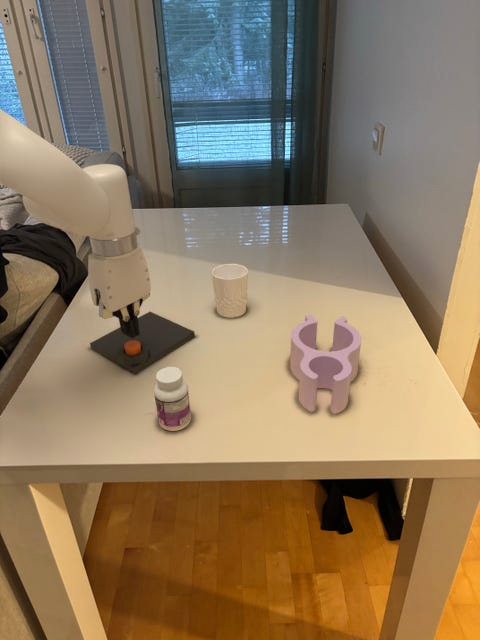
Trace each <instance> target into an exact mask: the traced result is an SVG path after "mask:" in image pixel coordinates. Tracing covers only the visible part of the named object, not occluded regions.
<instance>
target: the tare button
mask: <svg viewBox="0 0 480 640" xmlns="http://www.w3.org/2000/svg"><path fill="white" fill-rule="evenodd" d="M124 347H125V353H126V354H127V355H136V354H138V353H140V352H141V345H140V342H139V341H136V340H132V341H129V342H127V343H125V345H124Z"/></svg>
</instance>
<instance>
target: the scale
mask: <svg viewBox="0 0 480 640" xmlns="http://www.w3.org/2000/svg"><path fill="white" fill-rule="evenodd" d="M137 317H138V323H139V332H140V335H138V336H135V337H134V338H130V337H128V336H127V335H125V334H123V333H122V332H121V328H120V327H118V328H116V329H114V330H112V331H110V332H108V333H106V334H105V335H102V336H100V337H99V338H97V339H95V340H93V341H91V342H90V343H89V345H90V349H91V350H93V351H94V352H96V353H98V354H100V355H101V356H103V357H105V358H107V359H108V360H110V361H112V362H113V363H115V364H116V365H118V366H120V367H122V368H124V369H125V370H127V371H129V372H130V373H132V374H134V375H136V374H138V373H140V372H142V371H143V370H145V369H146V368H148V367H149V366H151V365H153V364H154V363H156V362H157V361H159V360H160V359H162V358H164V357H166V356H167V355H169V354H170V353H172V352H174V351H175V350H176V349H178V348H179V347H181V346H183V345H184V344H185V345H186V343H187V342H189V341H191V340H192V339H195V337H196V336H195V335H196V333H195V331H194V330H192V329H189V328H188V327H186V326H183V325H181V324H179V323H176V322H174V321H172V320H170V319H168V318H166V317H164V316H161V315H159V314H157V313H155V312H152V311H148V312H146V313H144V314H142V315H140V316H137ZM132 340H136V341H139V342H140V345H141V352H140V353H138V354H136V355H127V354H126V353H125V347H124V345H125V343H127V342H129V341H132Z"/></svg>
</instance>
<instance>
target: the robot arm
mask: <svg viewBox="0 0 480 640" xmlns="http://www.w3.org/2000/svg"><path fill="white" fill-rule="evenodd" d="M0 185H3V186H5V187H7V188H9V189H10V190H12V191H14V192H16V193H18V194H19V195H21V196H22V204H23V206H24V209H25V210H26V212H27V213H28V214H29V215H30V216H31V217H32V218H33V219H34V220H35V221H38V222H40V223H42V224H44V225H46V226H49V227H52V228H56V229H59V230H61V231H65V232H67V233H69V234H72V235H75V236H78V237H88V238H89V241H90V242H89V243H90V246H91V247H90V248H91V252H90V253H89V254H88V257H87V258H88V260H87V270H88V271H87V273H88V274H87V275H88V282H89V290H90V294H91V295H90V296H91V300H92V303H93V305H94V306H95V307H98V317H100V318H101V319H104V320H108V319H111V318H113V317H115V318H117V319H118V322H119V328H121V332H122V333H123V334H125V335H127V336H128V337H130V338H134V337H135V336H138V335H140V332H139V323H138V317H139V315H140V313H141V311H140V310H141V307H142V305H143V302H144V301H146V300H147V299H148V298H149V297H150V296H151V289H152V285H151V277H150V271H149V268H148V263H147V260H146V257H145V253H144V252H143V249H142V247H141V244H140V243H138V238H137V237H138V235H141V230H140V228H139V227H138V226H135V219H134V214H133V208H132V201H131V194H130V189H129V182H128V176H127V173H126V171H125V169H124V168H123V167H121V166H120V165H117V164H111V163H101V164H93V165H89V166H86V167H84V168H82V167H81V166H80V165H78V164H77V163H76V162H75V161H74V160H73V159H72V158H71V157H69V156H68V155H67V154H66V153H64V152H63V151H62V150H60V149H59V148H58V147H56V146H54V145H53V144H52V143H51V142H49V141H47V140H46V139H44V137H43V136H40V135H38V134H37V133H36V132H34V131H33V130H31V129H30V128H29V127H27V125H25V124H24V123H22V122H21V121H19V120H18V119H16V118H15V117H14V116H12V115H11V114H9V113H7V112H6V111H5V110H3V109H1V108H0Z"/></svg>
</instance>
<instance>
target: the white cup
mask: <svg viewBox="0 0 480 640" xmlns="http://www.w3.org/2000/svg"><path fill="white" fill-rule="evenodd" d="M248 275H249V270H248V268H247V266H244V265H242V264H239V263H225V264H220V265H217V266H215V267H214V268H213V269H212V270H211V276H212V286H213V294H214V301H215V306H216V313H217V314H218V315H219V316H220V317H222V318H228V319H233V318H239V317H241V316H243V315H245V313H246V312H247V300H248V281H249V280H248V279H249V276H248Z"/></svg>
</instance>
